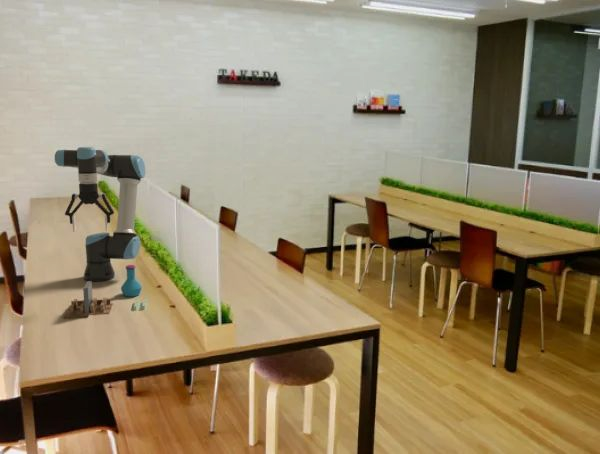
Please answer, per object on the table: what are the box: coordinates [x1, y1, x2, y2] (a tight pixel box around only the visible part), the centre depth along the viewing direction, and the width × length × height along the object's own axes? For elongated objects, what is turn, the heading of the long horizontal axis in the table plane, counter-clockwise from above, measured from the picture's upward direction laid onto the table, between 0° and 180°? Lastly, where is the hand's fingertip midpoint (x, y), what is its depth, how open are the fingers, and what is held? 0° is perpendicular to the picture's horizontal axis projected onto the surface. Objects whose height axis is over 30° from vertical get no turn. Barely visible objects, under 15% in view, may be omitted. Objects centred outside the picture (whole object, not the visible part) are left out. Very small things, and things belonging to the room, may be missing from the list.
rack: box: [62, 297, 114, 319], centre depth 235 cm, size 13×18×4 cm
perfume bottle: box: [120, 264, 143, 298], centre depth 256 cm, size 9×9×15 cm
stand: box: [131, 298, 149, 312], centre depth 241 cm, size 11×6×3 cm, turn 12°
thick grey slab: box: [82, 280, 94, 313], centre depth 235 cm, size 10×2×11 cm, turn 12°
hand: (90, 230), depth 245 cm, fingers open, 13 cm apart
